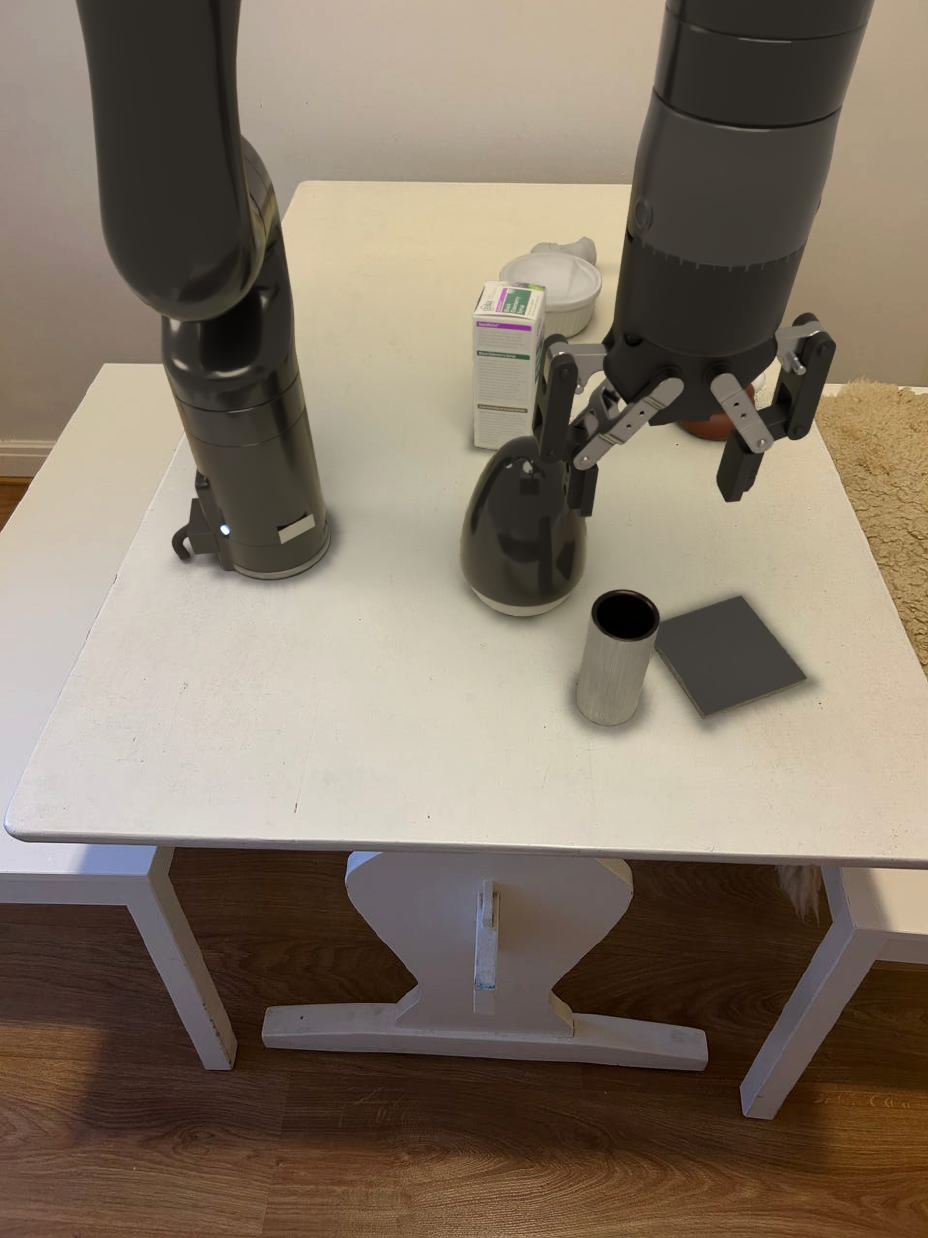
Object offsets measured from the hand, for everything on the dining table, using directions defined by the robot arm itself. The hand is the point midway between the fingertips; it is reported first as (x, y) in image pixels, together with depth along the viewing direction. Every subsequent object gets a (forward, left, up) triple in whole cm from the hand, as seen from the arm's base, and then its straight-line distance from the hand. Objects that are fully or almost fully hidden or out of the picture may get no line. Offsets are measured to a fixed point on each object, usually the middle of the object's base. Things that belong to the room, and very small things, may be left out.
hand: (653, 499), depth 48 cm
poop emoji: (+18, +33, -20) cm, 42 cm away
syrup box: (-3, +32, -20) cm, 38 cm away
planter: (0, 0, -20) cm, 20 cm away
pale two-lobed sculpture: (+8, +61, -20) cm, 65 cm away
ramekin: (+5, +52, -20) cm, 56 cm away
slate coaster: (+10, +3, -20) cm, 23 cm away
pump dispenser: (-5, +12, -20) cm, 24 cm away
